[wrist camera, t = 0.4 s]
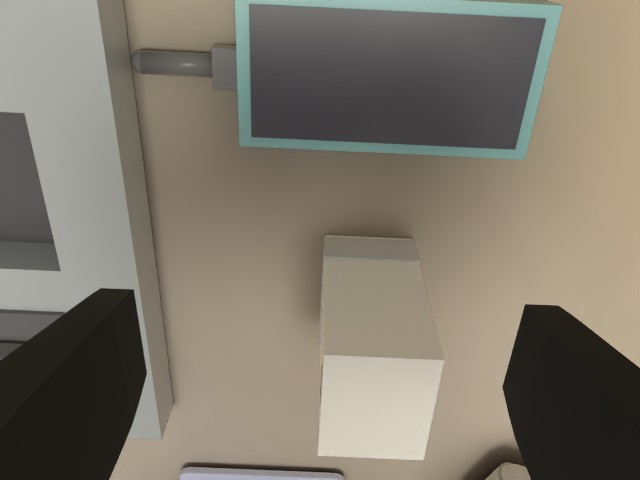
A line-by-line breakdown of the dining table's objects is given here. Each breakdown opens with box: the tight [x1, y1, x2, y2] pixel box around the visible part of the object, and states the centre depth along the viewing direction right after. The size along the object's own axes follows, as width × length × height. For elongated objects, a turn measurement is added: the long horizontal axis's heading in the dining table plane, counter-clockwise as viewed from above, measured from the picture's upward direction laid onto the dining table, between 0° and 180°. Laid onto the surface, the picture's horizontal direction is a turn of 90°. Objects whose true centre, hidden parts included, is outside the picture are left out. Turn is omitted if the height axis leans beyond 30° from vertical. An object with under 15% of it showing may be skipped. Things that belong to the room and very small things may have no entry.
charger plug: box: [318, 235, 445, 460], centre depth 18 cm, size 4×3×6 cm
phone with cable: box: [131, 0, 563, 160], centre depth 16 cm, size 12×4×1 cm, turn 87°
